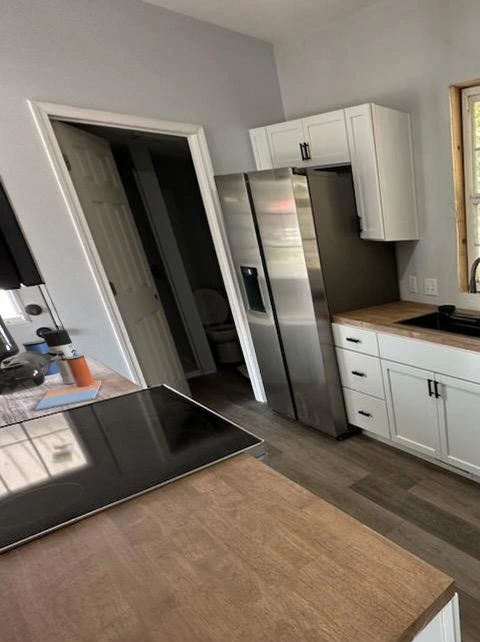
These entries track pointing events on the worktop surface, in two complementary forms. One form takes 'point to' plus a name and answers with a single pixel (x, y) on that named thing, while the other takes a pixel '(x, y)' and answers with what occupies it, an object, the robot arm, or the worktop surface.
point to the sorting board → (68, 395)
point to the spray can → (61, 342)
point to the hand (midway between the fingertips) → (42, 354)
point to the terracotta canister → (79, 370)
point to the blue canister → (41, 347)
